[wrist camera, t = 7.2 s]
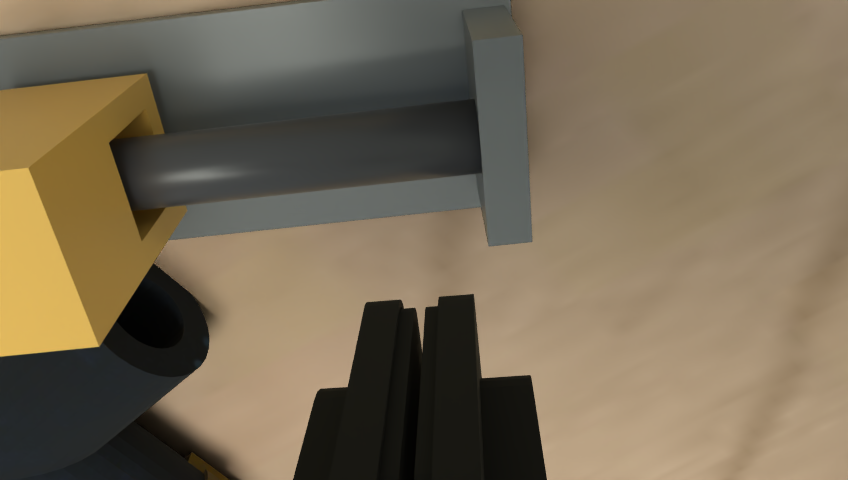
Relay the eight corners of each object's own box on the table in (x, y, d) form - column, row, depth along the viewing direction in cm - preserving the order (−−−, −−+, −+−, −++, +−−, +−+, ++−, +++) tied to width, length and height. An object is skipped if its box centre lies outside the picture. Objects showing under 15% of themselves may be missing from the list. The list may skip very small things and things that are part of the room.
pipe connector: (332, 524, 24) (64, 702, 29) (348, 417, 29) (115, 584, 33) (44, 305, 20) (-214, 551, 25) (116, 223, 25) (-112, 442, 29)
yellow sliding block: (146, 73, 21) (27, 167, 14) (187, 210, 23) (99, 346, 16) (-2, 90, 21) (-185, 191, 14) (52, 224, 23) (-88, 365, 17)
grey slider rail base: (506, -25, 21) (533, 8, 16) (519, 195, 24) (544, 274, 19) (-158, 54, 22) (-312, 107, 17) (-59, 257, 25) (-167, 346, 20)
